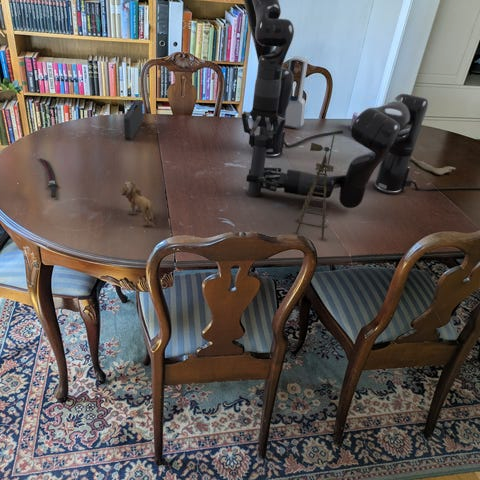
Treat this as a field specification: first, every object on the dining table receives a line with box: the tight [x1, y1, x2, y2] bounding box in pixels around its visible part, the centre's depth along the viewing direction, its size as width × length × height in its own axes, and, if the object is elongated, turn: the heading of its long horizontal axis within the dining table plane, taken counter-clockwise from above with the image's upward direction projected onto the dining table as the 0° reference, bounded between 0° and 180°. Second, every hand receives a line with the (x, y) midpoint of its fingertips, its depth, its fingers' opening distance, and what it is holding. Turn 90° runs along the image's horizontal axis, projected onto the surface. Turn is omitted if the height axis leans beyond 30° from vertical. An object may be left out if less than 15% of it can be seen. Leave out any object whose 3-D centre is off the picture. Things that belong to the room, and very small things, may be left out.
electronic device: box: [284, 55, 309, 130], centre depth 208 cm, size 12×8×30 cm, turn 71°
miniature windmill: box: [294, 133, 335, 240], centre depth 130 cm, size 9×8×30 cm
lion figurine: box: [119, 181, 159, 227], centre depth 134 cm, size 15×5×9 cm, turn 50°
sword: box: [40, 158, 59, 198], centre depth 151 cm, size 31×3×1 cm, turn 26°
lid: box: [253, 134, 268, 146], centre depth 145 cm, size 5×5×2 cm
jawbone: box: [410, 155, 457, 176], centre depth 188 cm, size 9×20×2 cm, turn 50°
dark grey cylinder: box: [247, 144, 267, 198], centre depth 150 cm, size 4×4×19 cm
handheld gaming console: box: [123, 99, 144, 141], centre depth 190 cm, size 23×3×10 cm, turn 178°
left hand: (260, 147), depth 146 cm, fingers closed on lid, 4 cm apart
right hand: (248, 174), depth 152 cm, fingers closed on dark grey cylinder, 4 cm apart
